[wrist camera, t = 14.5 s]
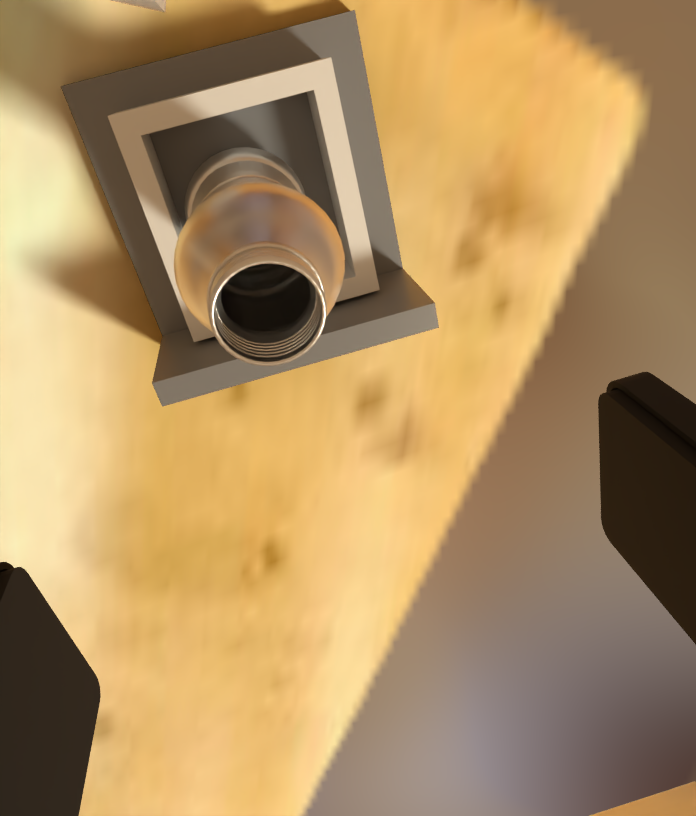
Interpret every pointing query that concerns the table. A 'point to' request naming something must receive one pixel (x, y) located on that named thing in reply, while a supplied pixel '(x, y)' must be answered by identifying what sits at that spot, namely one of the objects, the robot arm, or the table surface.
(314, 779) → the table surface
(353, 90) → the housing
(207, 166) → the plastic bottle
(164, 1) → the beige printed carton
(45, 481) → the table surface
